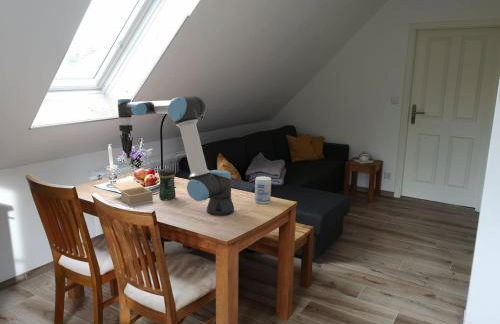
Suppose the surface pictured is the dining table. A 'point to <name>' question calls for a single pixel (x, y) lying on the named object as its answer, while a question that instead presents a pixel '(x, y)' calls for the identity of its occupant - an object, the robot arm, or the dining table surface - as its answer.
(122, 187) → the lid
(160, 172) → the coffee jar
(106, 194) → the dining table surface
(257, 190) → the supplement tub
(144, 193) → the mailer box
